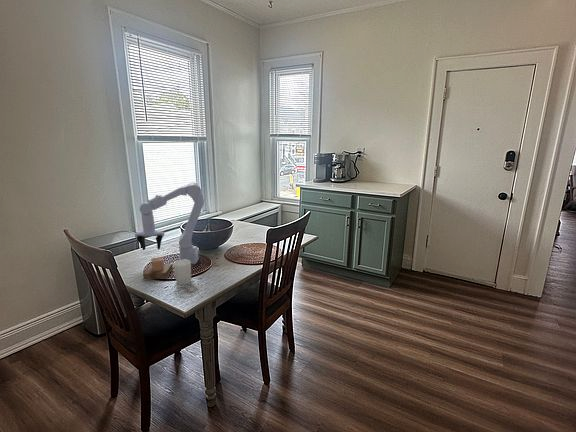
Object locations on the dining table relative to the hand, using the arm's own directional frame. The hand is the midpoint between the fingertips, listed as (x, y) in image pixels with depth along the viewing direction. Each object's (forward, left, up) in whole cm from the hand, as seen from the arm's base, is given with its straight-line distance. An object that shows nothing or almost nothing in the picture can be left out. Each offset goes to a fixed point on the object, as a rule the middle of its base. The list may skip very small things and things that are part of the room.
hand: (151, 249), depth 169 cm
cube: (-6, +11, -6) cm, 15 cm away
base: (-6, +12, -9) cm, 16 cm away
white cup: (-21, +22, -10) cm, 32 cm away
